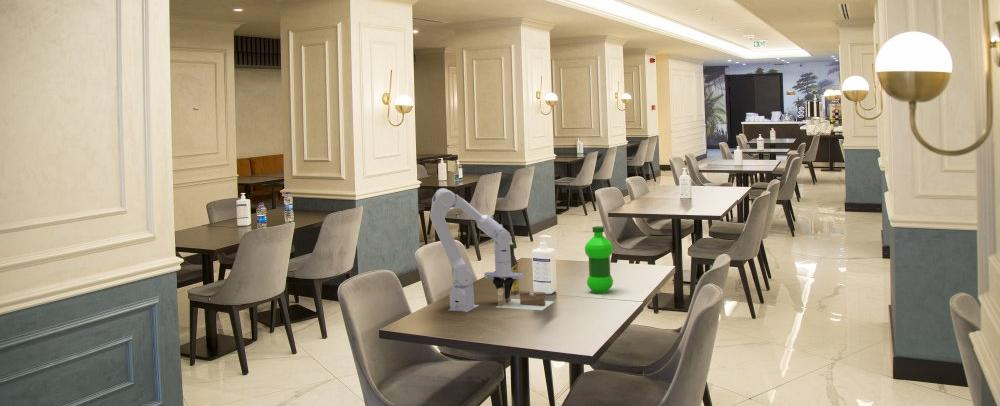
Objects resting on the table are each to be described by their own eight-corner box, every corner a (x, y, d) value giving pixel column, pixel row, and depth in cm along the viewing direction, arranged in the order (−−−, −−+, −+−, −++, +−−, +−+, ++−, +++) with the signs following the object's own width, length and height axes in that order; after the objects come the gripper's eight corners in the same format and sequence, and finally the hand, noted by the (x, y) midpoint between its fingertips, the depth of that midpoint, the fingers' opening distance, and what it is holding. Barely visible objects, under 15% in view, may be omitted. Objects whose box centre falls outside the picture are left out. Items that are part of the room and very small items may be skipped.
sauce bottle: (517, 296, 287) (515, 245, 285) (501, 296, 288) (499, 245, 286) (520, 292, 293) (518, 242, 291) (504, 292, 294) (502, 242, 292)
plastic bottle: (595, 287, 296) (593, 224, 293) (619, 290, 289) (617, 226, 286) (581, 293, 288) (579, 228, 285) (605, 296, 281) (603, 229, 278)
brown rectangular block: (543, 306, 268) (543, 293, 268) (520, 304, 272) (519, 292, 271) (545, 304, 270) (544, 292, 269) (522, 303, 274) (521, 291, 273)
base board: (542, 311, 263) (541, 310, 262) (495, 308, 270) (494, 307, 270) (554, 302, 274) (554, 301, 274) (509, 300, 282) (509, 298, 282)
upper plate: (502, 305, 271) (501, 289, 271) (498, 305, 272) (497, 289, 271) (511, 300, 279) (510, 284, 278) (506, 300, 279) (506, 284, 279)
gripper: (525, 259, 274) (527, 296, 276) (489, 258, 280) (491, 294, 282) (517, 263, 268) (519, 300, 269) (481, 262, 274) (483, 298, 275)
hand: (504, 297), depth 275 cm, fingers closed on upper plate, 2 cm apart
